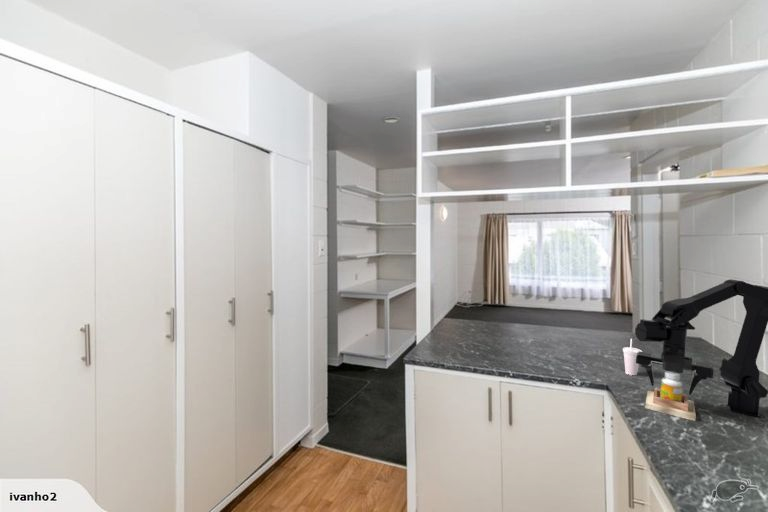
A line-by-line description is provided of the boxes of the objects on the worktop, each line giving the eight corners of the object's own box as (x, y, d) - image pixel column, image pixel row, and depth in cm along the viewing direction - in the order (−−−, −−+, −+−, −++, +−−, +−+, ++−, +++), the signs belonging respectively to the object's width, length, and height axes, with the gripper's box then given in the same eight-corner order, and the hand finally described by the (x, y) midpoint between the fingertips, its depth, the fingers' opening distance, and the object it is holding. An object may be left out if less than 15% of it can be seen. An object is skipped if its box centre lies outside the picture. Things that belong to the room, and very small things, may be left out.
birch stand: (693, 405, 115) (694, 395, 115) (695, 421, 106) (696, 409, 106) (647, 394, 123) (648, 384, 123) (645, 408, 114) (646, 397, 113)
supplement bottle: (655, 398, 117) (657, 369, 116) (672, 398, 117) (674, 369, 116) (668, 406, 112) (670, 376, 111) (685, 406, 112) (688, 376, 111)
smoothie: (622, 369, 145) (624, 335, 144) (641, 373, 141) (643, 338, 140) (620, 374, 140) (622, 339, 139) (640, 378, 136) (642, 342, 135)
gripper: (635, 342, 113) (633, 390, 114) (716, 355, 101) (712, 409, 102) (638, 334, 121) (635, 379, 122) (713, 345, 110) (709, 395, 111)
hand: (670, 390), depth 114 cm, fingers open, 9 cm apart
